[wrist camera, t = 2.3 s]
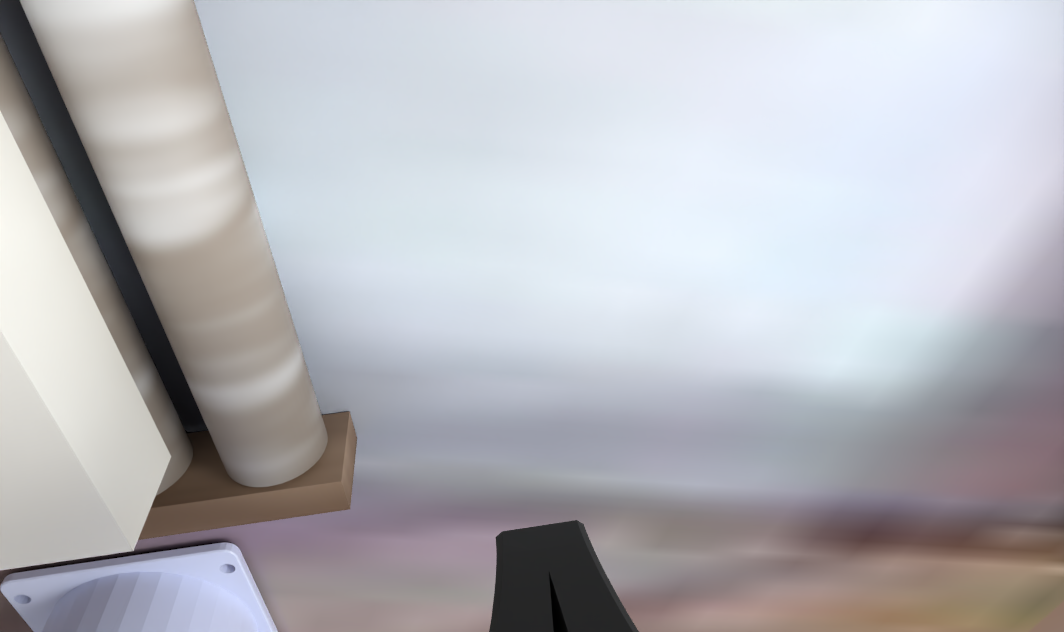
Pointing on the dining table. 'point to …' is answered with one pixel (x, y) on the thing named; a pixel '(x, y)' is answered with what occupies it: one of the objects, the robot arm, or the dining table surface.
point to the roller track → (183, 261)
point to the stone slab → (62, 398)
